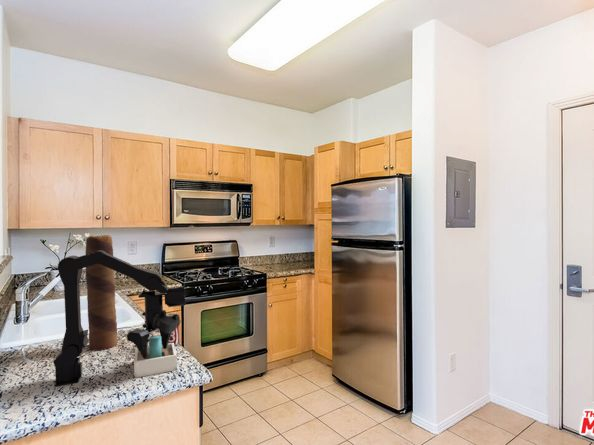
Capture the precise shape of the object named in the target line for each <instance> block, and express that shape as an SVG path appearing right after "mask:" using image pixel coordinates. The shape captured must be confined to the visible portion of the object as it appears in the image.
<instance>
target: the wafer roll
mask: <svg viewBox="0 0 594 445" xmlns="http://www.w3.org/2000/svg"><path fill="white" fill-rule="evenodd" d="M113 248H114V247H113V237H112V236H111V235H109V234H103V235H97V236H96V235H89V236H88V237H86V240H85V255H87V254H91V253H95V252H97V251H100V250H102V251H105V252H106V253H107V254H110V255H112V256H114V249H113ZM85 279H86V280H85V281H86V288H87V290H86V292H87V294H86V295H87V296H86V298H87V299H86V300H87V320H88V340H89V342H88V344H89V345H88V347H89V349H90V350H95V351H98V350H99V351H100V350H101V351H102V350H108V349H110V348H113V347H116V346H117V344H118V329H117V328H118V323H117V309H116V285H115V270H112V269H110V268H108V267H105V266H103V265H101V264H95V265H91V266H88V267H85Z"/></svg>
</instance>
